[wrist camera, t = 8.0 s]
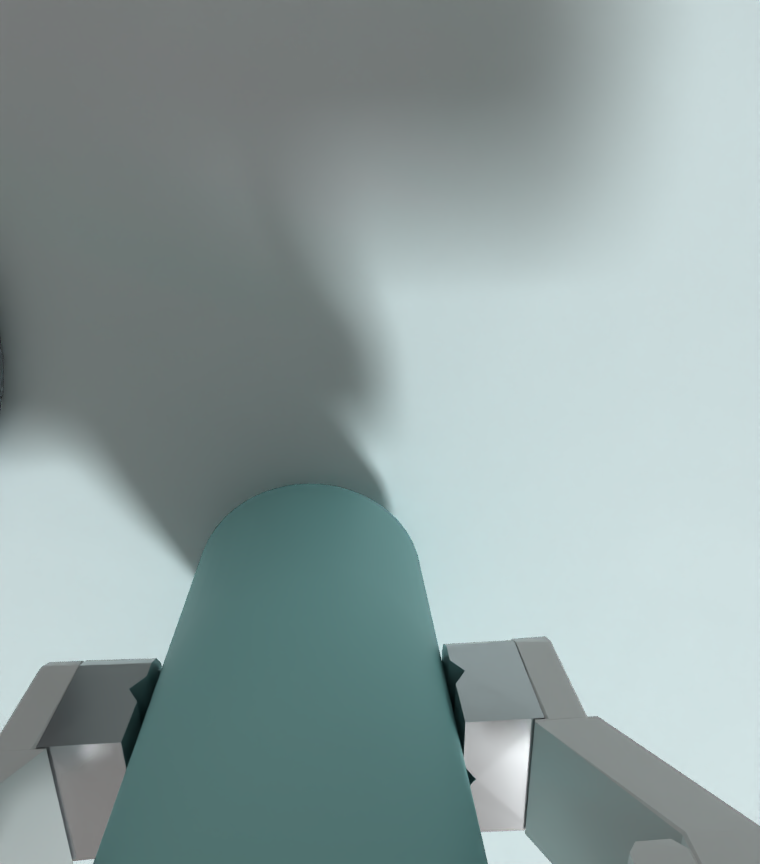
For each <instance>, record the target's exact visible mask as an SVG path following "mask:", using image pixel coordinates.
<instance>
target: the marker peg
mask: <svg viewBox="0 0 760 864" xmlns="http://www.w3.org/2000/svg"><path fill="white" fill-rule="evenodd" d="M93 864H488V863H487V858H486V854H485V849H484V845H483V841H482V836H481V832H480V827H479V823H478V819H477V814H476V810H475V805H474V801H473V797H472V792H471V788H470V783H469V779H468V775H467V770H466V766H465V761H464V757H463V753H462V748H461V744H460V739H459V735H458V731H457V726H456V722H455V718H454V713H453V709H452V704H451V700H450V696H449V691H448V687H447V682H446V678H445V674H444V669H443V665H442V660H441V656H440V652H439V647H438V643H437V638H436V634H435V630H434V625H433V621H432V616H431V612H430V608H429V603H428V599H427V594H426V590H425V586H424V581H423V577H422V573H421V568H420V564H419V559H418V555H417V552H416V550H415V547H414V544H413V542H412V540H411V539H410V537H409V535H408V533H407V532H406V530H405V529H404V528H403V526H402V525H401V524H400V522H399V521H398V520H397V519H396V518H395V517H394V516H393V515H392V514H391V513H390V512H389V511H387V510H386V509H385V508H383V507H382V506H381V505H379V504H378V503H377V502H375V501H373V500H371V499H369V498H368V497H366V496H364V495H361V494H359V493H357V492H354V491H352V490H348V489H345V488H341V487H337V486H331V485H324V484H297V485H289V486H284V487H279V488H275V489H272V490H269V491H266V492H264V493H261V494H259V495H257V496H255V497H253V498H251V499H249V500H247V501H245V502H244V503H242V504H241V505H239V506H238V507H237V508H235V509H234V510H233V511H232V512H231V513H229V514H228V515H227V516H226V517H225V518H224V519H223V520H222V521H221V523H220V524H219V525H218V526H217V527H216V528H215V530H214V532H213V533H212V535H211V536H210V538H209V539H208V542H207V544H206V546H205V548H204V551H203V553H202V556H201V559H200V562H199V564H198V567H197V570H196V573H195V576H194V579H193V581H192V584H191V587H190V590H189V593H188V596H187V599H186V601H185V604H184V607H183V610H182V613H181V616H180V618H179V621H178V624H177V627H176V630H175V633H174V636H173V638H172V641H171V644H170V647H169V650H168V653H167V655H166V658H165V661H164V664H163V667H162V670H161V672H160V675H159V678H158V681H157V684H156V687H155V690H154V692H153V695H152V698H151V701H150V704H149V707H148V709H147V712H146V715H145V718H144V721H143V724H142V727H141V729H140V732H139V735H138V738H137V741H136V744H135V746H134V749H133V752H132V755H131V758H130V761H129V763H128V766H127V769H126V772H125V775H124V778H123V781H122V783H121V786H120V789H119V792H118V795H117V798H116V800H115V803H114V806H113V809H112V812H111V815H110V818H109V820H108V823H107V826H106V829H105V832H104V835H103V837H102V840H101V843H100V846H99V849H98V852H97V854H96V857H95V860H94V863H93Z"/></svg>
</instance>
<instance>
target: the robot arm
mask: <svg viewBox="0 0 760 864" xmlns="http://www.w3.org/2000/svg"><path fill="white" fill-rule="evenodd" d="M442 665H443V669H444V674H445V678H446V682H447V687H448V691H449V696H450V700H451V704H452V709H453V713H454V718H455V722H456V726H457V731H458V735H459V739H460V744H461V748H462V753H463V757H464V761H465V766H466V770H467V775H468V779H469V783H470V788H471V792H472V797H473V801H474V805H475V810H476V814H477V819H478V823H479V827H480V832H491V831H517V830H525V834H526V835H527V836H528V837H529V838H530V840H531V841H532V842H533V843H534V844H535V845H536V846H537V847H538V848H539V850H540V851H541V852H542V853H543V854H544V855H545V856H546V857H547V858H548V860H549V861H550V862H551V863H552V864H760V826H759V825H757V824H756V823H755V822H753V821H752V820H750V819H749V818H747V817H746V816H744V815H743V814H741V813H740V812H738V811H737V810H735V809H734V808H732V807H731V806H729V805H728V804H726V803H725V802H724V801H722V800H721V799H719V798H718V797H716V796H715V795H713V794H712V793H710V792H709V791H707V790H706V789H704V788H703V787H701V786H700V785H698V784H697V783H695V782H694V781H693V780H691V779H690V778H688V777H687V776H685V775H684V774H682V773H681V772H679V771H678V770H676V769H675V768H673V767H672V766H670V765H669V764H667V763H666V762H664V761H663V760H661V759H660V758H659V757H657V756H656V755H654V754H653V753H651V752H650V751H648V750H647V749H645V748H644V747H642V746H641V745H639V744H638V743H636V742H635V741H633V740H632V739H630V738H629V737H628V736H626V735H625V734H623V733H622V732H620V731H619V730H617V729H616V728H614V727H613V726H611V725H610V724H608V723H607V722H605V721H604V720H602V719H601V718H599V717H598V716H594V717H587V715H586V713H585V711H584V709H583V707H582V705H581V703H580V701H579V699H578V697H577V695H576V693H575V690H574V688H573V686H572V684H571V682H570V680H569V678H568V676H567V674H566V672H565V670H564V668H563V666H562V664H561V662H560V659H559V657H558V655H557V653H556V651H555V649H554V647H553V645H552V643H551V641H550V640H549V639H548V638H547V637H545V636H543V637H530V638H518V639H511V640H506V641H488V642H470V643H453V644H443V650H442ZM161 670H162V666H161V663H160V662H159V661H158V659H157V658H153V659H119V660H86V661H85V662H84V661H67V662H49V663H47V664H46V665H44V666H42V667H41V668H40V669H39V671H38V673H37V674H36V676H35V678H34V679H33V681H32V682H31V684H30V686H29V687H28V689H27V691H26V692H25V694H24V696H23V697H22V699H21V701H20V702H19V704H18V705H17V707H16V709H15V710H14V712H13V714H12V715H11V717H10V719H9V720H8V722H7V724H6V725H5V727H4V728H3V730H2V732H1V733H0V864H73V861H77V860H87V859H95V857H96V854H97V852H98V849H99V846H100V843H101V840H102V837H103V835H104V832H105V829H106V826H107V823H108V820H109V818H110V815H111V812H112V809H113V806H114V803H115V800H116V798H117V795H118V792H119V789H120V786H121V783H122V781H123V778H124V775H125V772H126V769H127V766H128V763H129V761H130V758H131V755H132V752H133V749H134V746H135V744H136V741H137V738H138V735H139V732H140V729H141V727H142V724H143V721H144V718H145V715H146V712H147V709H148V707H149V704H150V701H151V698H152V695H153V692H154V690H155V687H156V684H157V681H158V678H159V675H160V672H161Z"/></svg>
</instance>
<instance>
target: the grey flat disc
mask: <svg viewBox="0 0 760 864" xmlns="http://www.w3.org/2000/svg"><path fill="white" fill-rule="evenodd" d="M2 396H3V353H2V346H1V339H0V409H1V402H2Z"/></svg>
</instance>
